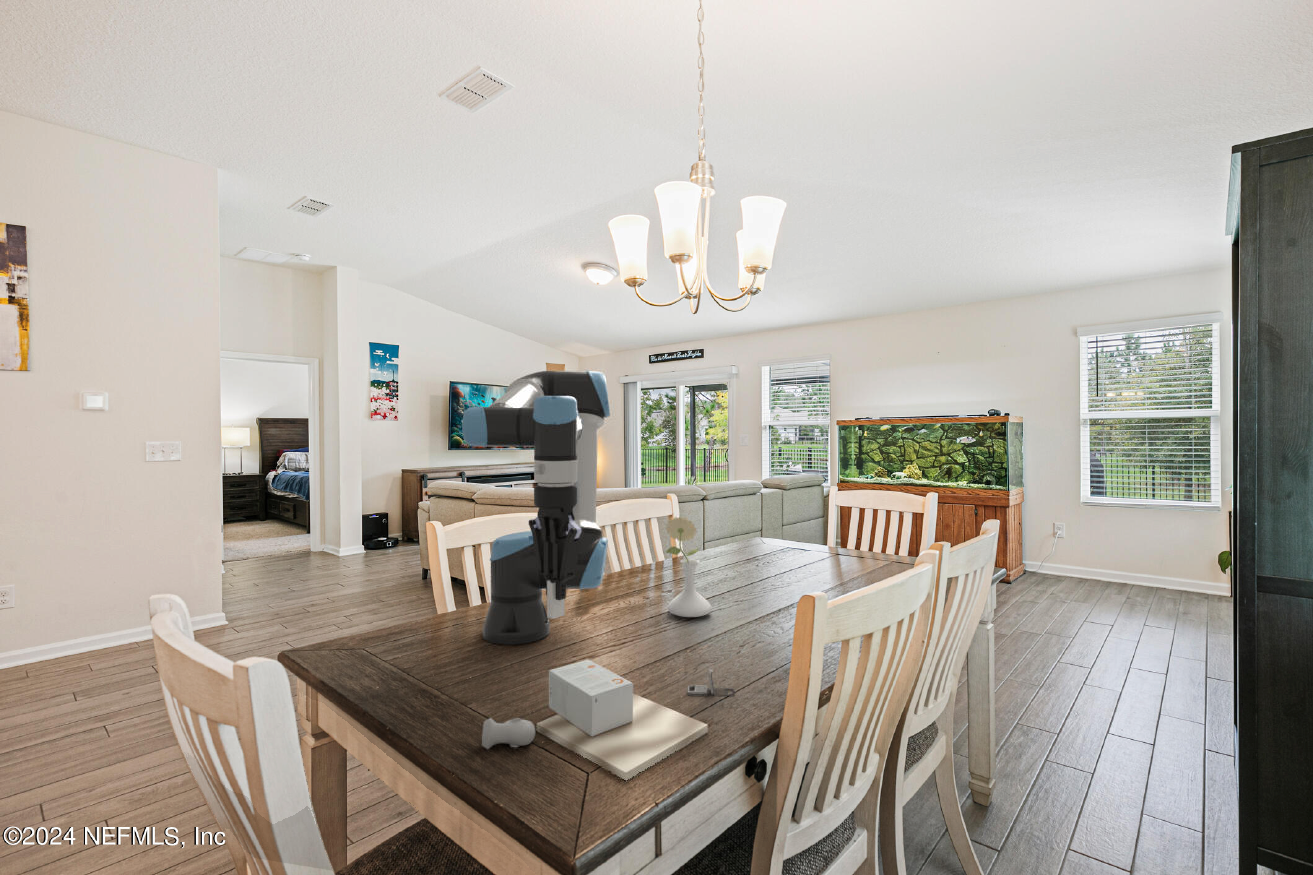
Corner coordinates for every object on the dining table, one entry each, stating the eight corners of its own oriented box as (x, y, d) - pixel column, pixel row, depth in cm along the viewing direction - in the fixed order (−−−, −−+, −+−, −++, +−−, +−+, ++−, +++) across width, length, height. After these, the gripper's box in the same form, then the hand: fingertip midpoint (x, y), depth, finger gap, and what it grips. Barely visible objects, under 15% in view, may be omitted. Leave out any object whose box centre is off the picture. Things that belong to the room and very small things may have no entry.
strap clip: (687, 697, 107) (687, 673, 107) (687, 689, 111) (687, 666, 110) (735, 698, 107) (735, 674, 107) (733, 691, 110) (733, 667, 110)
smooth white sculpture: (536, 744, 93) (532, 751, 88) (484, 744, 92) (476, 751, 87) (538, 714, 94) (534, 719, 89) (486, 714, 94) (479, 719, 89)
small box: (547, 707, 100) (590, 738, 90) (548, 669, 100) (591, 695, 90) (588, 694, 105) (633, 722, 95) (589, 658, 105) (634, 681, 95)
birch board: (536, 730, 94) (536, 723, 94) (619, 694, 108) (619, 687, 108) (626, 781, 81) (626, 772, 81) (707, 732, 94) (707, 724, 94)
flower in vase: (719, 612, 157) (719, 516, 156) (698, 624, 147) (698, 522, 147) (676, 604, 164) (676, 512, 163) (653, 615, 154) (654, 518, 154)
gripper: (515, 482, 107) (516, 612, 108) (562, 489, 98) (562, 630, 99) (549, 479, 113) (549, 603, 114) (596, 485, 104) (596, 619, 105)
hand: (555, 616), depth 106 cm, fingers closed
